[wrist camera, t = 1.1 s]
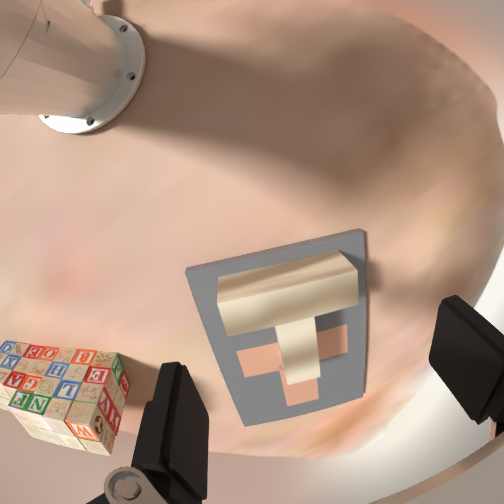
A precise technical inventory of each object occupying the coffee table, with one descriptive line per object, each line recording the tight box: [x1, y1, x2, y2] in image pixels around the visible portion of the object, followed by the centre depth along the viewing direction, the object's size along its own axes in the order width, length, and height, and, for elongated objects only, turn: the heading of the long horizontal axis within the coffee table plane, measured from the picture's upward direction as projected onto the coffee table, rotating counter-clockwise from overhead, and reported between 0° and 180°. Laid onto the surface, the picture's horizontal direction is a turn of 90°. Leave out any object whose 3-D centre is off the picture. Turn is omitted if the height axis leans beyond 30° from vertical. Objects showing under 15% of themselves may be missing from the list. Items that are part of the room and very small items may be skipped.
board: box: [185, 229, 366, 426], centre depth 33 cm, size 26×18×1 cm
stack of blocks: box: [0, 341, 130, 455], centre depth 27 cm, size 21×6×12 cm, turn 91°
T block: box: [217, 249, 359, 385], centre depth 28 cm, size 12×12×5 cm
